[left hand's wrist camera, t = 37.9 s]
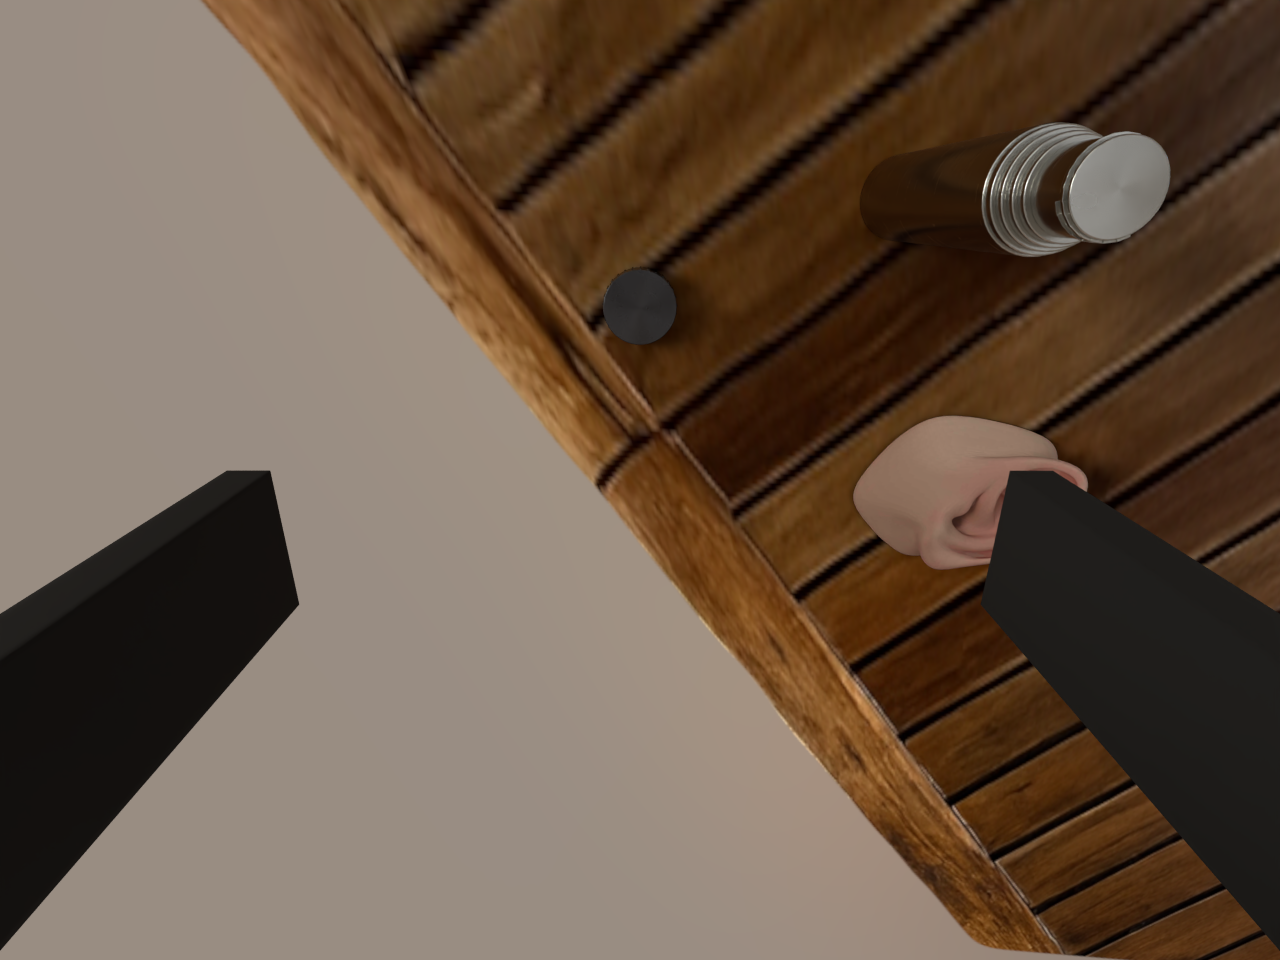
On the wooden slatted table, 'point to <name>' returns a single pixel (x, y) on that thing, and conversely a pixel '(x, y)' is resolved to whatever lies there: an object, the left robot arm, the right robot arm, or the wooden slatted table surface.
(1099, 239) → the bottle
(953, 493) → the anatomical model
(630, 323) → the cap
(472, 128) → the wooden slatted table surface
